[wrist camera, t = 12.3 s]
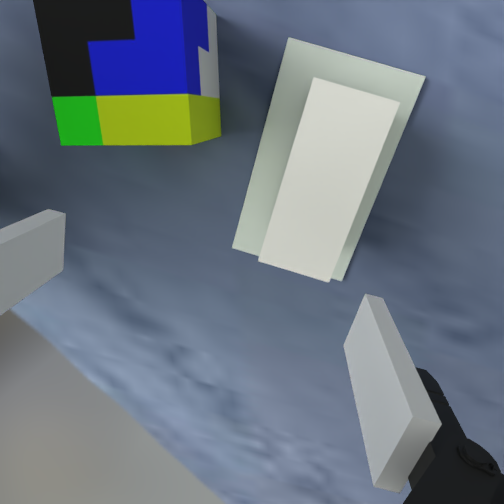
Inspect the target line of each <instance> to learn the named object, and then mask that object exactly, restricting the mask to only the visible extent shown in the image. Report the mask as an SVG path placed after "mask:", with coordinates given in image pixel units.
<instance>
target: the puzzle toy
mask: <svg viewBox="0 0 504 504" xmlns="http://www.w3.org/2000/svg"><path fill="white" fill-rule="evenodd" d="M33 2H34V7H35V12H36V18H37V23H38V28H39V33H40V38H41V44H42V49H43V54H44V59H45V64H46V70H47V75H48V80H49V85H50V90H51V95H52V101H53V106H54V111H55V116H56V121H57V127H58V132H59V137H60V142H61V146H65V145H193V144H197V143H200V142H203V141H207V140H210V139H213V138H217V137H220V136H221V118H220V94H219V71H218V47H217V24H216V14H215V13H214V12H213V11H212V10H211V8H210V7H209V6H208V5H207V4H206V3H205V2H204V1H203V0H33Z"/></svg>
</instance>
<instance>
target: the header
mask: <svg viewBox="0 0 504 504" xmlns="http://www.w3.org/2000/svg"><path fill="white" fill-rule="evenodd" d="M314 77H315V78H319V79H322V80H325V81H329V82H332V83H336V84H339V85H343V86H346V87H350V88H353V89H357V90H360V91H363V92H367V93H370V94H374V95H377V96H381V97H384V98H388V99H391V100H394V101H398V102H400V104H399V107H398V109H397V112H396V114H395V117H394V120H393V122H392V125H391V127H390V130H389V132H388V135H387V137H386V140H385V142H384V145H383V147H382V150H381V152H380V155H379V157H378V160H377V162H376V165H375V167H374V170H373V173H372V175H371V178H370V180H369V183H368V185H367V188H366V190H365V193H364V195H363V198H362V200H361V203H360V205H359V208H358V210H357V213H356V215H355V218H354V220H353V223H352V226H351V228H350V231H349V233H348V236H347V238H346V241H345V243H344V246H343V248H342V251H341V253H340V256H339V258H338V261H337V263H336V266H335V268H334V271H333V273H332V276H331V278H332V279H336V280H339V281H342V279H343V277H344V274H345V272H346V270H347V267H348V265H349V262H350V260H351V257H352V255H353V252H354V250H355V248H356V245H357V243H358V240H359V238H360V235H361V233H362V231H363V228H364V226H365V223H366V221H367V218H368V216H369V214H370V211H371V209H372V206H373V204H374V201H375V199H376V197H377V194H378V192H379V189H380V187H381V184H382V182H383V179H384V177H385V175H386V172H387V170H388V167H389V165H390V162H391V160H392V158H393V155H394V153H395V150H396V148H397V145H398V143H399V141H400V138H401V136H402V133H403V131H404V128H405V126H406V124H407V121H408V119H409V116H410V114H411V111H412V109H413V106H414V104H415V102H416V99H417V97H418V94H419V92H420V89H421V87H422V85H423V82H424V80H425V76H422V75H418V74H415V73H412V72H408V71H405V70H401V69H398V68H394V67H391V66H387V65H384V64H380V63H377V62H373V61H370V60H366V59H363V58H359V57H356V56H352V55H349V54H346V53H342V52H339V51H335V50H332V49H328V48H325V47H321V46H318V45H314V44H311V43H307V42H304V41H300V40H297V39H293V38H290V37H288V41H287V45H286V48H285V52H284V56H283V60H282V63H281V67H280V71H279V74H278V78H277V82H276V86H275V89H274V93H273V97H272V101H271V104H270V108H269V112H268V115H267V119H266V123H265V127H264V130H263V134H262V138H261V142H260V145H259V149H258V153H257V156H256V160H255V164H254V168H253V171H252V175H251V179H250V183H249V186H248V190H247V194H246V197H245V201H244V205H243V209H242V212H241V216H240V220H239V224H238V227H237V231H236V235H235V238H234V242H233V246H232V248H234V249H237V250H240V251H244V252H247V253H250V254H254V255H257V256H260V253H261V249H262V246H263V243H264V239H265V236H266V233H267V229H268V226H269V223H270V220H271V216H272V213H273V210H274V206H275V203H276V200H277V196H278V193H279V190H280V187H281V183H282V180H283V177H284V173H285V170H286V167H287V163H288V160H289V157H290V154H291V150H292V147H293V144H294V140H295V137H296V134H297V130H298V127H299V124H300V121H301V117H302V114H303V111H304V107H305V104H306V101H307V97H308V94H309V91H310V88H311V84H312V81H313V78H314Z"/></svg>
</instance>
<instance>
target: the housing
mask: <svg viewBox="0 0 504 504" xmlns="http://www.w3.org/2000/svg"><path fill="white" fill-rule="evenodd" d="M399 104H400V102H398V101H394V100H391V99H388V98H384V97H381V96H377V95H374V94H370V93H367V92H363V91H360V90H357V89H353V88H350V87H346V86H343V85H339V84H336V83H332V82H329V81H325V80H322V79H319V78H315V77H314V78H313V81H312V84H311V88H310V91H309V94H308V97H307V101H306V104H305V107H304V111H303V114H302V117H301V121H300V124H299V127H298V130H297V134H296V137H295V140H294V144H293V147H292V150H291V154H290V157H289V160H288V163H287V167H286V170H285V173H284V177H283V180H282V183H281V187H280V190H279V193H278V196H277V200H276V203H275V206H274V210H273V213H272V216H271V220H270V223H269V226H268V229H267V233H266V236H265V239H264V243H263V246H262V249H261V253H260V256H259V259H258V261H260V262H263V263H266V264H269V265H273V266H276V267H279V268H283V269H286V270H289V271H292V272H296V273H299V274H302V275H306V276H309V277H312V278H315V279H319V280H322V281H325V282H328V283H329V281H330V279H331V276H332V273H333V271H334V268H335V266H336V263H337V261H338V258H339V256H340V253H341V251H342V248H343V246H344V243H345V241H346V238H347V236H348V233H349V231H350V228H351V226H352V223H353V220H354V218H355V215H356V213H357V210H358V208H359V205H360V203H361V200H362V198H363V195H364V193H365V190H366V188H367V185H368V183H369V180H370V178H371V175H372V173H373V170H374V167H375V165H376V162H377V160H378V157H379V155H380V152H381V150H382V147H383V145H384V142H385V140H386V137H387V135H388V132H389V130H390V127H391V125H392V122H393V120H394V117H395V114H396V112H397V109H398V107H399Z"/></svg>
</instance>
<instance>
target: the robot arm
mask: <svg viewBox="0 0 504 504" xmlns="http://www.w3.org/2000/svg"><path fill="white" fill-rule="evenodd" d="M65 219H66V213H62V212H58V211H54V210H51V209H47V210H44V211H42V212H40V213H37V214H35V215H33V216H30V217H28V218H26V219H23V220H21V221H18V222H16V223H14V224H11V225H9V226H7V227H4V228H2V229H0V315H2V314H3V313H4V312H6V311H7V310H9V309H10V308H11V307H13V306H14V305H16V304H17V303H18V302H20V301H21V300H23V299H24V298H25V297H27V296H28V295H29V294H31V293H32V292H34V291H35V290H36V289H38V288H39V287H41V286H42V285H43V284H45V283H46V282H48V281H49V280H50V279H52V278H53V277H55V276H56V275H57V274H59V273H60V272H62V271H63V262H64V240H65ZM344 350H345V355H346V360H347V364H348V369H349V374H350V378H351V383H352V388H353V392H354V397H355V402H356V406H357V411H358V416H359V420H360V425H361V430H362V434H363V439H364V444H365V448H366V453H367V458H368V462H369V467H370V472H371V477H372V481H373V486H374V487H378V488H381V489H385V490H389V491H392V492H396V493H400V492H401V490H402V489H403V487H404V486H405V484H406V482H407V481H408V479H409V483H410V486H411V489H412V491H411V492H410V494H409V495H408V497H407V498H406V500H405V501H404V503H403V504H504V475H503V474H502V473H501V471H500V469H499V466H498V464H497V462H496V461H495V460H494V459H493V457H492V456H491V455H490V454H489V453H488V452H487V451H486V450H485V449H483V448H482V447H481V446H480V445H478V444H477V443H475V442H473V441H472V440H470V439H467V437H466V436H465V434H464V432H463V430H462V428H461V426H460V424H459V422H458V420H457V418H456V417H455V415H454V413H453V411H452V409H451V407H450V406H449V403H448V401H447V399H446V397H445V396H443V395H444V394H443V392H442V390H441V388H440V386H439V384H438V382H437V381H436V380H435V379H434V378H433V377H432V376H431V375H430V374H429V373H428V372H427V371H426V370H424V369H420V368H416V367H415V366H414V364H413V362H412V359H411V357H410V355H409V353H408V351H407V349H406V347H405V345H404V342H403V340H402V338H401V336H400V334H399V332H398V330H397V328H396V325H395V323H394V321H393V319H392V317H391V315H390V313H389V311H388V308H387V306H386V304H385V302H384V300H383V298H380V297H376V296H373V295H369V294H365V295H364V298H363V300H362V302H361V305H360V307H359V310H358V312H357V314H356V317H355V319H354V322H353V324H352V326H351V329H350V331H349V333H348V336H347V338H346V341H345V343H344Z"/></svg>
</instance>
